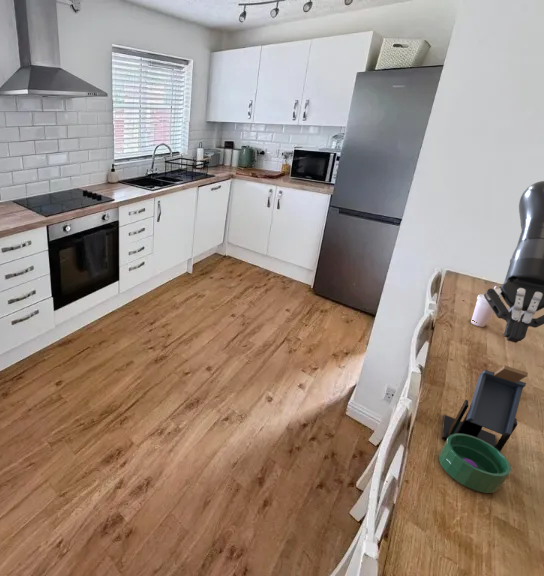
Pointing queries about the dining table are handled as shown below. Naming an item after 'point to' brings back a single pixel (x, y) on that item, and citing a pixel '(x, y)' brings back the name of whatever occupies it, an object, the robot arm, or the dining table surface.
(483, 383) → the chute
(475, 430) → the stand
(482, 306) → the smoothie
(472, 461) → the ball
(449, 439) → the bowl
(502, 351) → the dining table surface
